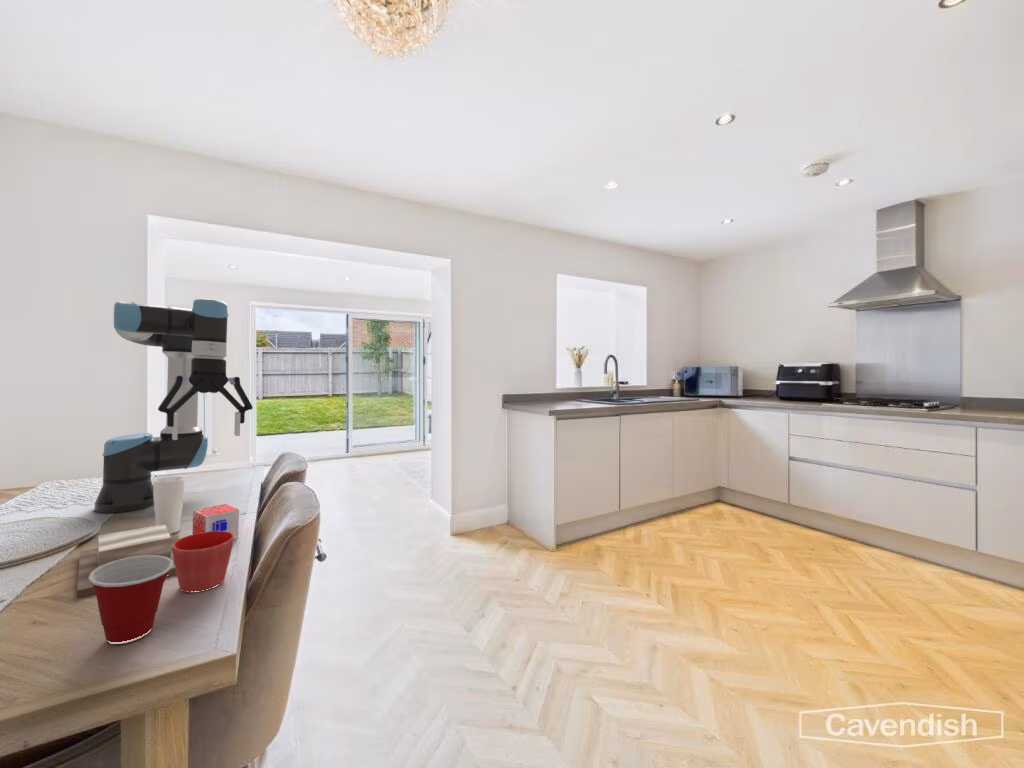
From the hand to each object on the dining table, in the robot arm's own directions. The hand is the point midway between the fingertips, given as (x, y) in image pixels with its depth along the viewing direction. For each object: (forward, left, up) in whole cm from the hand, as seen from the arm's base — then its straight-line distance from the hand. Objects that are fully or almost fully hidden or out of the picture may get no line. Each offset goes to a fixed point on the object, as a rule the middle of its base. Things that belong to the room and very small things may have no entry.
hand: (207, 437), depth 111 cm
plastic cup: (+40, -16, -28) cm, 51 cm away
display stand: (+6, -14, -28) cm, 32 cm away
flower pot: (+27, -4, -28) cm, 39 cm away
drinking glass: (-13, -6, -28) cm, 32 cm away
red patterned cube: (0, +2, -28) cm, 28 cm away
